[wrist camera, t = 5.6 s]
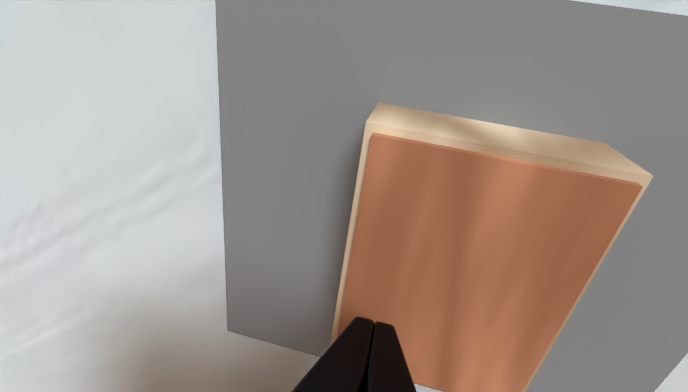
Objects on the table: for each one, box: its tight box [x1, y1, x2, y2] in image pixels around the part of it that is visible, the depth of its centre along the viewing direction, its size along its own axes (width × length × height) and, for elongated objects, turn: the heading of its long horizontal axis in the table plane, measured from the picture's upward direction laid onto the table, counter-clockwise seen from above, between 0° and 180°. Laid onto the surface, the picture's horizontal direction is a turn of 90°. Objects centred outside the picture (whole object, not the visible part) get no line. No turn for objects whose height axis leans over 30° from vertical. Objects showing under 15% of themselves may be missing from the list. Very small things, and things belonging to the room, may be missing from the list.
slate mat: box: [216, 0, 688, 392], centre depth 12 cm, size 16×14×1 cm
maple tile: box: [330, 103, 653, 392], centre depth 10 cm, size 2×8×6 cm
